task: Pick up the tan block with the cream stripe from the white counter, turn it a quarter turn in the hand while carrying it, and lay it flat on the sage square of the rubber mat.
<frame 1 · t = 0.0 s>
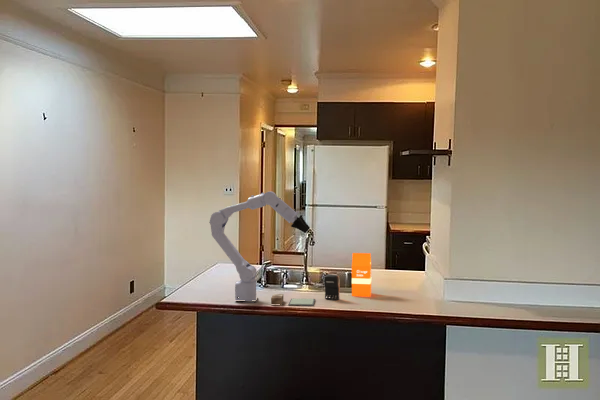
hand: (307, 230, 235), 32 cm above the counter, tool tilted 50°, fingers open, 7 cm apart
tan block: (277, 303, 234), on the counter
mat: (302, 302, 234), on the counter
black upright block: (331, 300, 240), on the counter
orange juice: (361, 295, 250), on the counter
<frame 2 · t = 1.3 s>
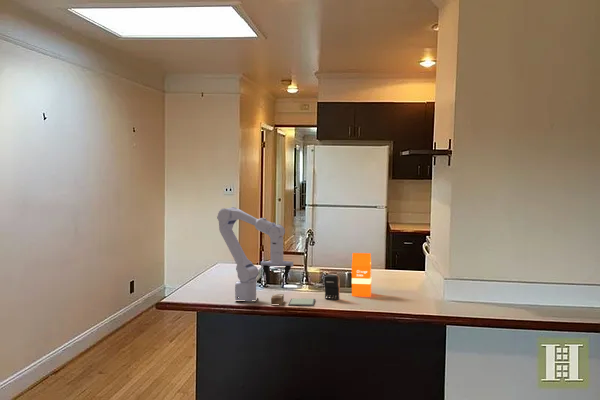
hand: (277, 282, 234), 9 cm above the counter, tool pointing down, fingers open, 7 cm apart
nothing on the counter moved.
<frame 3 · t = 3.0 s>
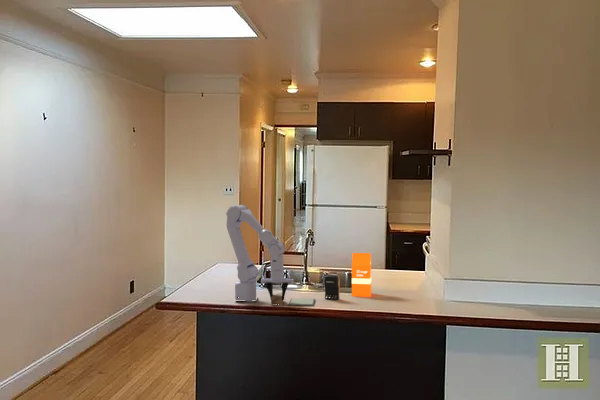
hand: (277, 299, 234), 2 cm above the counter, tool pointing down, fingers closed on tan block, 4 cm apart
tan block: (277, 303, 234), on the counter, touching gripper
everything else where it was.
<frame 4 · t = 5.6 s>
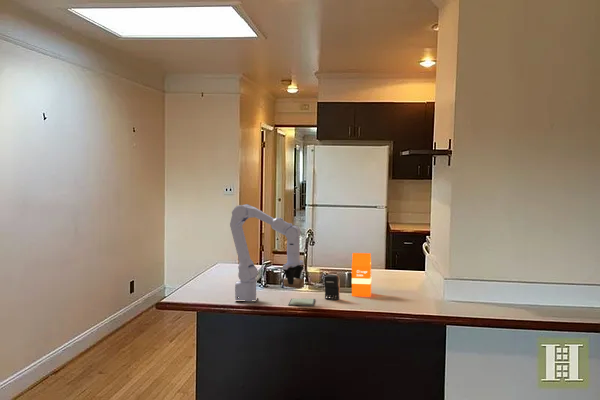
hand: (293, 283, 234), 9 cm above the counter, tool pointing down, fingers closed on tan block, 4 cm apart
tan block: (293, 286, 234), point 7 cm above the counter, touching gripper
everything else where it was.
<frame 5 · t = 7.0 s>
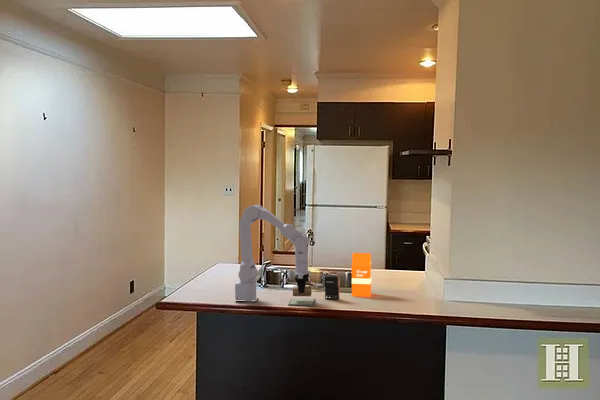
hand: (302, 291, 234), 5 cm above the counter, tool pointing down, fingers closed on tan block, 4 cm apart
tan block: (302, 295, 234), point 4 cm above the counter, touching gripper
everything else where it was.
when the fingers open (3 cm above the counter, at t = 8.3 s): tan block stays where it is, resting on mat.
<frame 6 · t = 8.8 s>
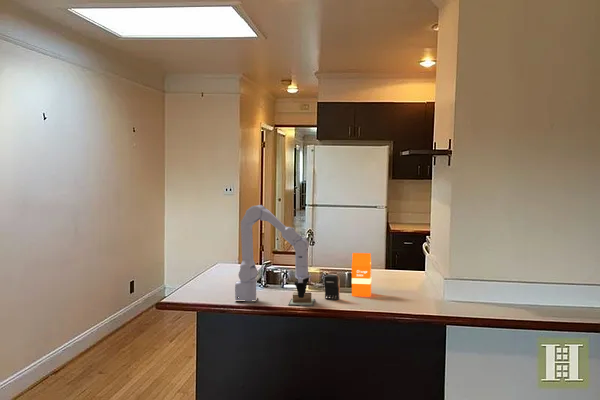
hand: (301, 295, 234), 3 cm above the counter, tool pointing down, fingers open, 7 cm apart
tan block: (302, 301, 234), point 1 cm above the counter, touching mat
everything else where it was.
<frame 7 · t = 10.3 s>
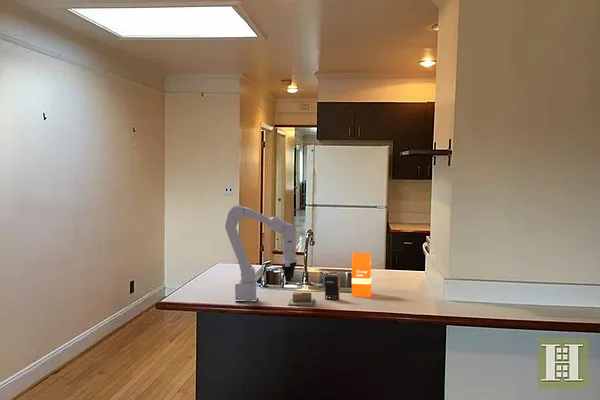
hand: (289, 279, 241), 9 cm above the counter, tool pointing down, fingers open, 7 cm apart
nothing on the counter moved.
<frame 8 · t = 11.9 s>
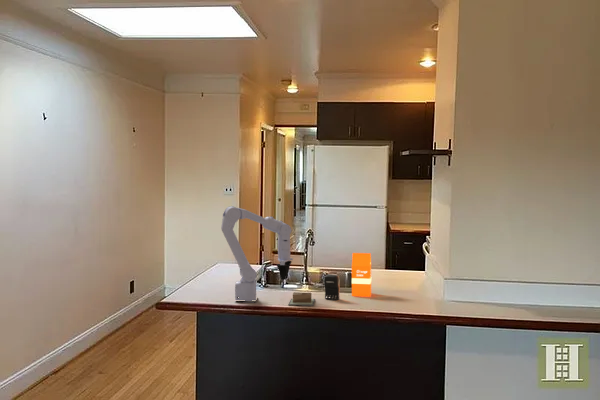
hand: (284, 278, 244), 9 cm above the counter, tool pointing down, fingers open, 7 cm apart
nothing on the counter moved.
at the end: tan block 0.1 cm off-centre on the mat, point 0.7 cm above the mat's base; tan block tilted 0°; the gripper is holding nothing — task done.
